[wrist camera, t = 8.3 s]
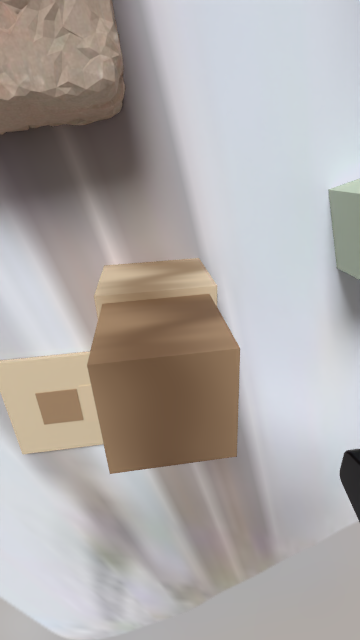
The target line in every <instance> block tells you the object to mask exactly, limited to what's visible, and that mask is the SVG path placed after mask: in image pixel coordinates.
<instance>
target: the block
mask: <svg viewBox="0 0 360 640" xmlns="http://www.w3.org/2000/svg"><path fill="white" fill-rule="evenodd" d="M329 199H330V209H331V218H332V228H333V237H334V246H335V256H336V265H337V268H338V269H339V270H341V271H343V272H345V273H347V274H349V275H351V276H353V277H355V278H357V279H359V280H360V179H357V180H354V181H351V182H349V183H346V184H343V185H340V186H337V187H335V188H332V189H329Z"/></svg>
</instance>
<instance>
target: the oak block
mask: <svg viewBox="0 0 360 640" xmlns="http://www.w3.org/2000/svg"><path fill="white" fill-rule="evenodd" d="M200 294H210V296H211V297H212V299H213V301H214V303H215V305H216V306H217V285H216V283H215V282H214V280H213V279H212V277H211V276H210V274H209V273H208V271H207V270H206V268H205V267H204V265H203V264H202V262H201V261H200V259H199V258H195V259H182V260H169V261H157V262H144V263H132V264H119V265H106V266H104V268H103V271H102V274H101V277H100V280H99V283H98V286H97V289H96V292H95V295H94V299H95V305H96V311H97V317H98V319H99V315H100V311H101V307H102V304H105V303H116V302H126V301H137V300H147V299H158V298H169V297H179V296H190V295H200Z"/></svg>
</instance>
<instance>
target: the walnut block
mask: <svg viewBox="0 0 360 640" xmlns="http://www.w3.org/2000/svg"><path fill="white" fill-rule="evenodd" d="M239 366H240V347H239V346H238V344H237V342H236V340H235V339H234V337H233V335H232V333H231V331H230V330H229V328H228V326H227V324H226V322H225V321H224V319H223V317H222V315H221V313H220V312H219V310H218V308H217V306H216V305H215V303H214V301H213V299H212V297H211V296H210V294H200V295H190V296H179V297H169V298H158V299H147V300H137V301H126V302H116V303H105V304H102V307H101V311H100V315H99V319H98V323H97V327H96V331H95V335H94V339H93V343H92V347H91V351H90V355H89V359H88V363H87V368H88V373H89V377H90V382H91V387H92V392H93V396H94V401H95V406H96V410H97V415H98V420H99V424H100V429H101V434H102V439H103V443H104V448H105V453H106V457H107V462H108V467H109V471H110V474H112V473H120V472H127V471H134V470H142V469H149V468H156V467H163V466H171V465H178V464H185V463H193V462H200V461H207V460H214V459H222V458H229V457H236V456H237V431H238V398H239Z"/></svg>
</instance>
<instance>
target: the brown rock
mask: <svg viewBox="0 0 360 640" xmlns="http://www.w3.org/2000/svg"><path fill="white" fill-rule="evenodd" d="M123 70H124V68H123V58H122V52H121V48H120V39H119V34H118V32H117V25H116V20H115V16H114V9H113V3H112V0H0V135H3V134H4V133H5V132H14V131H23V130H29V128H38V127H40V126H46V125H50V126H51V127H52V126H60V125H64V124H69V125H87V124H90V123H93V122H95V121H99V120H105V119H109V118H111V117H113V116H114V115H116V114H117V113H119V112H120V111H121V108H122V100H123V98H124V93H125V84H124V80H123V77H122V76H123Z"/></svg>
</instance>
